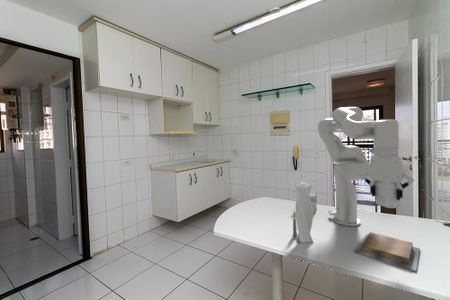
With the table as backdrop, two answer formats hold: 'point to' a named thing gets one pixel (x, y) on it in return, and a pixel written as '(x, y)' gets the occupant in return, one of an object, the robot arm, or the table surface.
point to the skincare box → (386, 193)
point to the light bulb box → (313, 201)
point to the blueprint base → (389, 250)
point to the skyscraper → (303, 213)
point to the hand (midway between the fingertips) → (385, 197)
